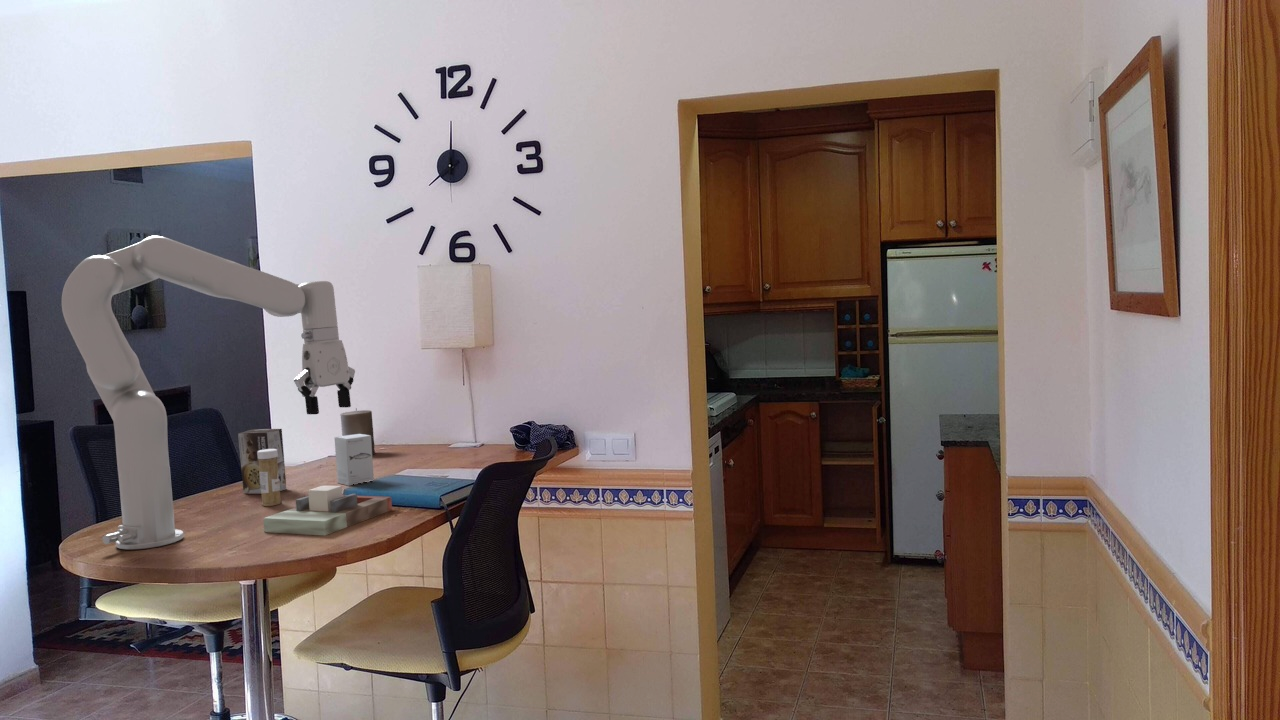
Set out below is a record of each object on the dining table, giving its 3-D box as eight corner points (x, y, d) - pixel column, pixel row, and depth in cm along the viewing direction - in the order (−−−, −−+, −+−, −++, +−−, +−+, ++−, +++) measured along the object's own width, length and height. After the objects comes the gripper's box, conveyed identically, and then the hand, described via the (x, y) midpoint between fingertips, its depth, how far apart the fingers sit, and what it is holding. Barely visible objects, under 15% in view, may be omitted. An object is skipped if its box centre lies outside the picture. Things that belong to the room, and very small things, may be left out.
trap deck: (325, 535, 196) (323, 509, 195) (264, 531, 201) (262, 506, 201) (391, 509, 217) (390, 486, 217) (335, 507, 223) (333, 484, 222)
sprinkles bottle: (283, 504, 229) (279, 449, 228) (263, 507, 226) (259, 452, 225) (279, 501, 233) (274, 447, 232) (259, 504, 230) (255, 450, 229)
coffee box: (287, 489, 249) (283, 428, 247) (272, 494, 242) (267, 432, 241) (258, 488, 251) (253, 428, 250) (241, 493, 245) (237, 432, 244)
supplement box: (348, 486, 248) (345, 438, 247) (336, 483, 254) (333, 436, 253) (374, 481, 253) (371, 435, 252) (362, 478, 258) (359, 432, 258)
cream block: (328, 511, 205) (326, 490, 204) (309, 510, 207) (308, 490, 206) (343, 506, 209) (341, 486, 209) (324, 505, 211) (323, 485, 211)
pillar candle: (381, 453, 301) (378, 406, 301) (357, 458, 293) (354, 410, 292) (360, 452, 307) (357, 406, 306) (336, 457, 298) (333, 409, 297)
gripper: (303, 339, 205) (312, 417, 206) (361, 331, 220) (368, 404, 221) (279, 340, 208) (287, 416, 210) (337, 333, 223) (345, 404, 225)
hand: (329, 410), depth 215 cm, fingers open, 9 cm apart
